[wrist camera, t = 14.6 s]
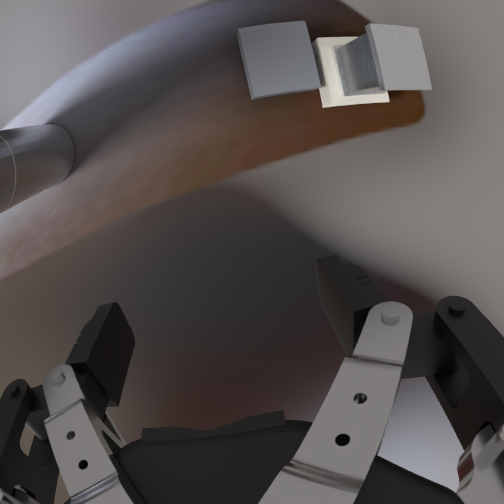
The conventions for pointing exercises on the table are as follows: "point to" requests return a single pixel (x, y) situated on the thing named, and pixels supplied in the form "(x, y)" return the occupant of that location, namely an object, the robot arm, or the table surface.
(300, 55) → the stand
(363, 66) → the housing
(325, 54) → the stand
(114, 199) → the table surface
